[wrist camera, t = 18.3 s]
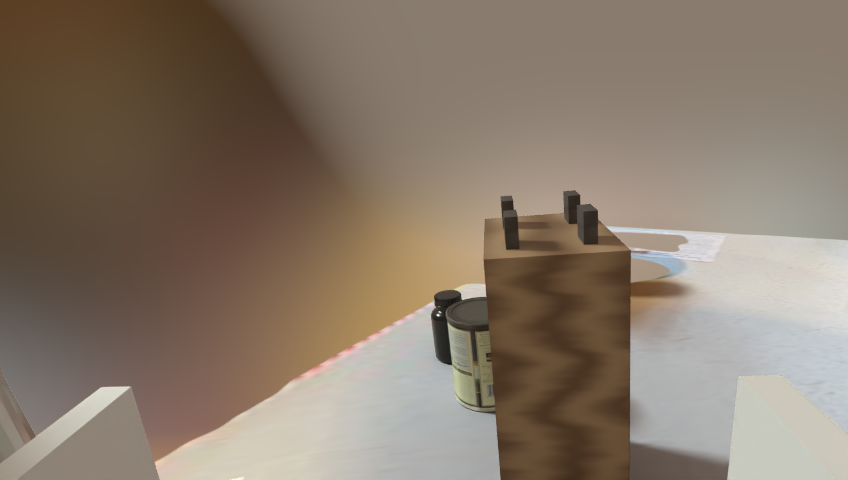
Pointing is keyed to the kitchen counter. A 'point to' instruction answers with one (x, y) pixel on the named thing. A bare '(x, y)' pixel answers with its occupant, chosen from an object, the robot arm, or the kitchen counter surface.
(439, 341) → the supplement bottle
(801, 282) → the kitchen counter surface
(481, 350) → the coffee can
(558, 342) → the brown wooden tall block
